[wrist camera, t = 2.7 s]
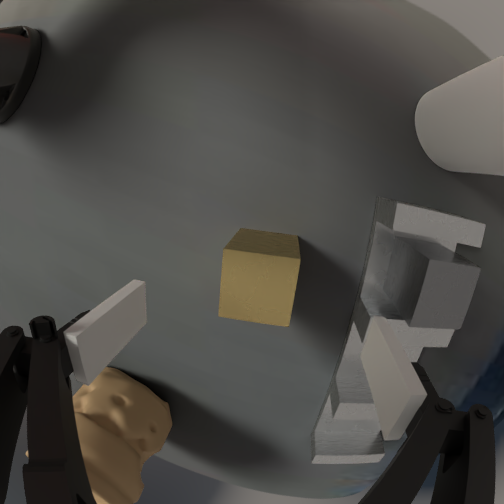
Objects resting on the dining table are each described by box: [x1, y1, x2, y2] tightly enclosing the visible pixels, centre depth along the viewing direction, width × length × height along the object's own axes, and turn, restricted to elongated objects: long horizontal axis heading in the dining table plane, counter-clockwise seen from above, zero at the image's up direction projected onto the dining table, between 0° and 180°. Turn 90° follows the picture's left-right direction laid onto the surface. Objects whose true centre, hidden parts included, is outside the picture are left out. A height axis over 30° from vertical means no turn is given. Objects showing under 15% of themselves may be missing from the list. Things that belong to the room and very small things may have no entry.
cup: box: [415, 55, 504, 176], centre depth 13 cm, size 8×8×16 cm
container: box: [26, 367, 172, 504], centre depth 25 cm, size 13×13×18 cm
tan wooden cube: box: [219, 228, 301, 327], centre depth 23 cm, size 5×5×7 cm
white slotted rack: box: [311, 197, 486, 464], centre depth 23 cm, size 30×9×8 cm, turn 174°
